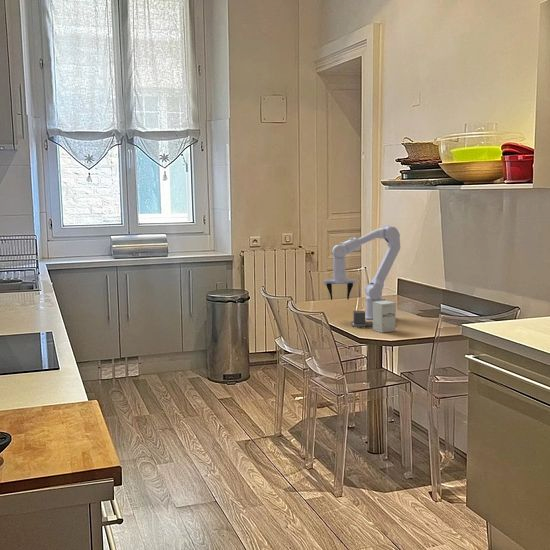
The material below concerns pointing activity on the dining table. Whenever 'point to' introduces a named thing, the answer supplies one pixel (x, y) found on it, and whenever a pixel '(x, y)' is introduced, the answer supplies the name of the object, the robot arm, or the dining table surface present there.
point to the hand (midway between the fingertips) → (339, 299)
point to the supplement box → (384, 316)
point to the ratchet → (362, 324)
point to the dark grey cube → (359, 317)
